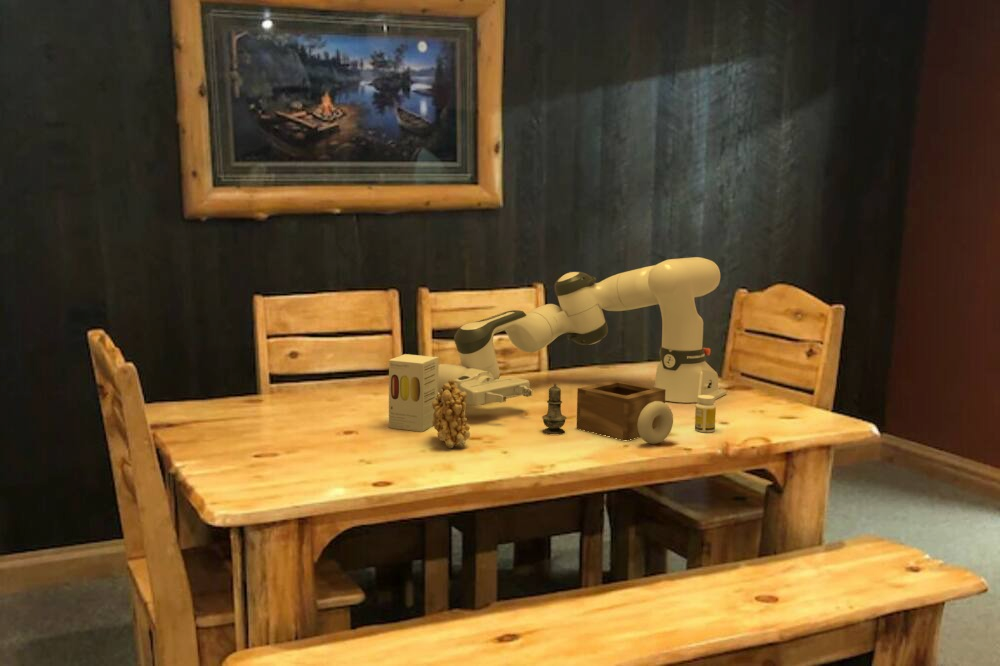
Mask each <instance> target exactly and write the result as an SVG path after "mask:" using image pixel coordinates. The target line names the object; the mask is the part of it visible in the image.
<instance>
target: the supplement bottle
mask: <svg viewBox="0 0 1000 666" xmlns="http://www.w3.org/2000/svg"><path fill="white" fill-rule="evenodd" d="M714 399H715V398H714V396H711V395H699V396H698V400H697V402H696V404H695V414H694V415H695V416H694V417H695V418H694V430H695V431H696V432H699V433H705V434H706V433H713V432H715V430H716V415H717V413H716V412H717V411H716V410H717V406H716V404H715V400H716V399H715V400H714Z"/></svg>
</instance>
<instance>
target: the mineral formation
mask: <svg viewBox="0 0 1000 666" xmlns="http://www.w3.org/2000/svg"><path fill="white" fill-rule="evenodd" d="M448 382H449V384H448V383H446V384H444V385H443V386H442V387H441V388H442V390H441V391H440V393H439V392H438V395H437V398H436V400H434V401H433V402H432V407H433V409H434V410H435V411H434V414H433V417H434V419H433V422H432V424H433V425H434V426H433V427H434V429H435V430H436V431H437V438H438V439H439V441H441V442H442V441H443V442H445V446H447V448H449V449H452V448H455V446H457V447H461V446H462V445H463V446H465V445H466V443H467V440H468V439H470V438H471V432H470V428H471V427H470V425H469V424H468V423H466V422H467V421H468V418H467V417H466V412H465V411H466V409H467V408H466V407H467V405H466V404H465V403H466V397H467V393H466V392H461V390H459V389H457V388H458V387H457V384H456V383H455V380H454V379H453V378H450V379H449V381H448Z"/></svg>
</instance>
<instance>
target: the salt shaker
mask: <svg viewBox="0 0 1000 666" xmlns="http://www.w3.org/2000/svg"><path fill="white" fill-rule="evenodd" d="M561 395H562V390H561V387H559V386H557V383H556V382H554V383H553V386H550V387H549V388H548V400H547V401H546V403H547V413H546V414H543V415H542V416H541V419H542V421H543V424H544V426H545V427H546V428H545V429H543V430H542V433H543V434H546V433H547V434H546V435H550V434H559V435H563V433H564V434H565V433H566V431H565V430H564V429H563V428H562V427H563V426H564V425H565V423H566V420H567V416H566V415H563V414H562V409H561V408H562V407H561V404H562V403H563V401H562V400H561V399H562V396H561Z"/></svg>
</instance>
